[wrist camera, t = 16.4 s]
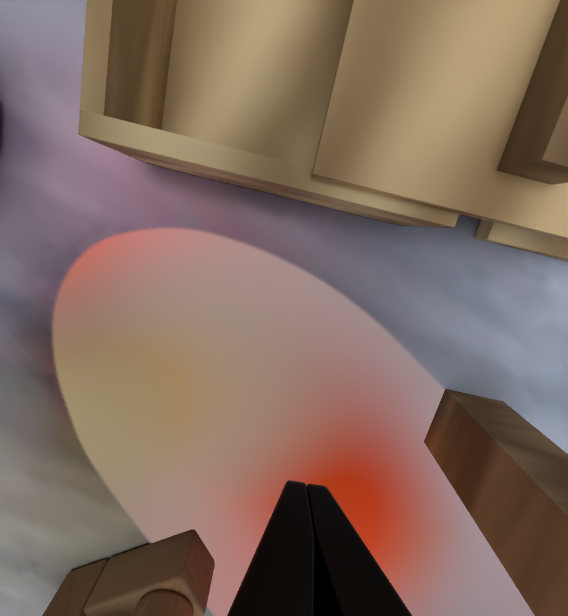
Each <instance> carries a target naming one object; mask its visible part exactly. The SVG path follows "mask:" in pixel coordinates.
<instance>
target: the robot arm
mask: <svg viewBox="0 0 568 616" xmlns="http://www.w3.org/2000/svg"><path fill="white" fill-rule="evenodd" d="M227 616H412V615H411V613H410V612H409V610H408V609H407V607H406V606H405V604H404V603H403V601H402V600H401V598H400V597H399V595H398V594H397V592H396V591H395V589H394V588H393V586H392V585H391V583H390V582H389V580H388V579H387V577H386V576H385V574H384V573H383V571H382V570H381V568H380V567H379V565H378V563H377V562H376V561H375V559H374V557H373V556H372V555H371V553H370V551H369V550H368V548H367V547H366V546H365V544H364V542H363V541H362V539H361V538H360V536H359V535H358V533H357V532H356V530H355V529H354V527H353V526H352V524H351V523H350V521H349V520H348V518H347V517H346V515H345V514H344V512H343V511H342V509H341V508H340V506H339V505H338V503H337V502H336V500H335V499H334V497H333V496H332V494H331V493H330V491H329V490H328V489H327V487H325V486H322V485H315V484H308V485H307V486H306V484H305V483H303V482H296V481H287V482H286V484H285V486H284V488H283V491H282V493H281V495H280V498H279V500H278V502H277V504H276V507H275V509H274V511H273V513H272V516H271V518H270V520H269V522H268V525H267V527H266V529H265V531H264V534H263V536H262V538H261V541H260V543H259V545H258V547H257V550H256V552H255V554H254V556H253V559H252V561H251V563H250V565H249V568H248V570H247V572H246V574H245V577H244V579H243V581H242V583H241V586H240V588H239V590H238V593H237V595H236V597H235V599H234V602H233V604H232V606H231V608H230V610H229V613H228V615H227Z"/></svg>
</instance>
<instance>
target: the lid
mask: <svg viewBox="0 0 568 616" xmlns="http://www.w3.org/2000/svg"><path fill="white" fill-rule="evenodd" d="M311 177H314V178H318V179H322V180H326V181H330V182H334V183H338V184H342V185H346V186H350V187H354V188H358V189H362V190H366V191H370V192H374V193H378V194H382V195H386V196H390V197H394V198H398V199H402V200H406V201H410V202H414V203H418V204H422V205H426V206H430V207H434V208H438V209H442V210H446V211H449V212H453V213H457V214H461V215H465V216H469V217H473V218H477V219H481V220H485V221H489V222H493V223H497V224H501V225H505V226H509V227H513V228H517V229H521V230H525V231H529V232H533V233H537V234H541V235H545V236H549V237H553V238H557V239H561V240H565V241H568V0H353V1H352V5H351V10H350V14H349V18H348V22H347V27H346V31H345V35H344V39H343V43H342V48H341V52H340V56H339V60H338V64H337V69H336V73H335V77H334V81H333V85H332V90H331V94H330V98H329V102H328V107H327V111H326V115H325V119H324V123H323V128H322V132H321V136H320V140H319V144H318V149H317V153H316V157H315V161H314V166H313V170H312V174H311Z"/></svg>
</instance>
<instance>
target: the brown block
mask: <svg viewBox="0 0 568 616" xmlns="http://www.w3.org/2000/svg"><path fill="white" fill-rule="evenodd" d="M424 442H425V444H426V446H427V447H428V449H429V450H430V452H431V453H432V455H433V456H434V458H435V460H436V461H437V463H438V464H439V466H440V467H441V469H442V471H443V472H444V474H445V475H446V477H447V479H448V480H449V482H450V483H451V485H452V486H453V488H454V490H455V491H456V493H457V494H458V496H459V497H460V499H461V500H462V502H463V504H464V505H465V507H466V508H467V510H468V511H469V513H470V515H471V516H472V518H473V519H474V521H475V522H476V524H477V525H478V527H479V529H480V530H481V532H482V533H483V535H484V536H485V538H486V540H487V541H488V543H489V544H490V546H491V547H492V549H493V551H494V552H495V554H496V555H497V557H498V558H499V560H500V562H501V563H502V565H503V566H504V568H505V569H506V571H507V573H508V574H509V576H510V577H511V579H512V580H513V582H514V584H515V585H516V587H517V588H518V590H519V591H520V593H521V595H522V596H523V598H524V599H525V601H526V602H527V604H528V605H529V607H530V609H531V610H532V612H533V613H534V615H535V616H568V454H567V453H565V452H564V451H563V450H562V449H561V448H559V447H558V446H557V445H556V444H554V443H553V442H552V441H551V440H550V439H548V438H547V437H546V436H545V435H543V434H542V433H541V432H540V431H539V430H537V429H536V428H535V427H534V426H532V425H531V424H530V423H529V422H528V421H526V420H525V419H524V418H523V417H522V416H520V415H519V414H518V413H517V412H515V411H514V410H513V409H512V408H511V407H509V406H508V405H507V404H506V403H504V402H501V401H497V400H492V399H488V398H483V397H479V396H474V395H470V394H465V393H461V392H456V391H452V390H447V389H445V391H444V394H443V397H442V399H441V401H440V404H439V406H438V409H437V411H436V413H435V416H434V418H433V421H432V423H431V426H430V428H429V431H428V433H427V436H426V438H425V441H424Z"/></svg>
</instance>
